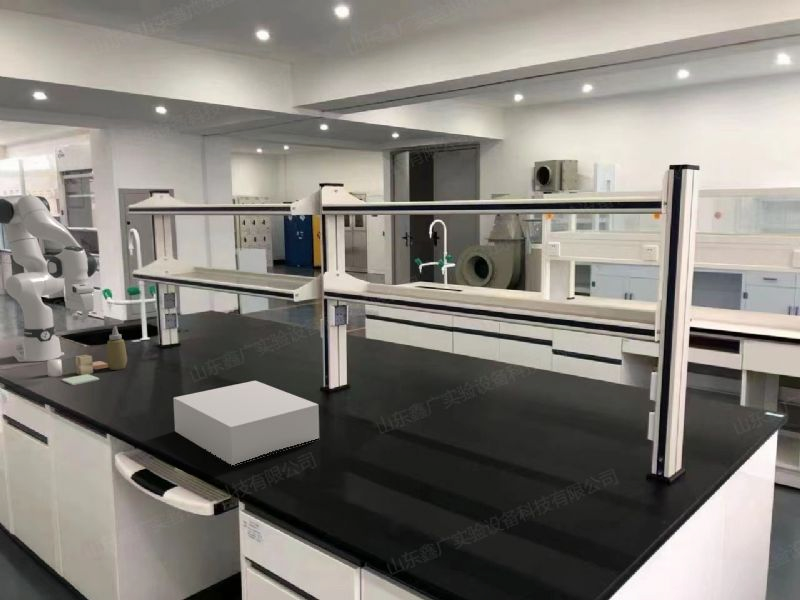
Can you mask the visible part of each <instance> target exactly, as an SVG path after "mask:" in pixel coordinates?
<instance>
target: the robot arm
mask: <svg viewBox="0 0 800 600" xmlns="http://www.w3.org/2000/svg"><path fill="white" fill-rule="evenodd" d="M0 224H2V225H3V224H5V229H6V230H5V233H6V238H7V243H8V246H9V250H10V252H11V256H12V258H13V261H14V262H15V264H18V265H20V266H22V267H23V268H24V269H25V270H26V272H20V273H16V274H13V275H11V276H9V277H7V279H6V281H5V285H4V288H5V291H6V293H7V294H8V295H9V296H10V297H11V298H13V299H14V300H15V301H16V302H17V303H18V304H19V306H20V307H21V308H20V309H21V310H22V314H23V315H22V316H23V320H24V328H23V338H22V340H21V341H20V342H19V343H18V344H17V345H16V351H19V352H17V353H14V354H13V357H14V358H15V360H16V361H17V362H19V363H24V362H26V363H27V362H44V361H48V360H52V359H59V358H60V357H62V356H65V352H63V351H62V350H61V343H60V338H59V337H58V335H57V336H56V327H55V325H54V314H53V309H52V307H50V306H49V305H46V304H45V303H44V302H43V299H42V297H43V296H49V295H55V294H56V293H59V292H61V291H62V290H64V304H65V309H69V310H70V313H71V316H72V320H73V321H79V320H80V317H79V314H78V312H81V315H82V317H81V322H82V323H84V324H85V323H88V322H89V314H90V312H93V311H94V309H95V302H94V301H95V300H94V298H95V297H94V294H93V293H94V292H95V288H94V286H93V285H92V284H91V282H90V279H89V278H91V277H92V276H93V275H94V274H95V273H96V271H97V269H98V262H97V260H96V259H97V258H95V256H93V255H92V254H91V253H90V252H89V251H88V250H87V249H86V248H85V247H84V245H82V243H81V241H79V239H78V238H77V237H76V236H75V235H74V233H73V232H72V231H71V230H70V229H69V228H68V227H67V226H66V225H63V224H62V223H60V222H59V221H58V220H57V219H56V218H55V217H54V216H53V215H52V213H51V206H50V203H49V201H48V200H47V199H46V197H44V196H41V195H39V196H38V195H32V194H27V195H26V194H25V195H21V196H16V197H8V198H0ZM38 239H40V240H45V241H51V242H53V243H54V242H55V243H58V244H61V245H62V246H64V247H63V248H62V249H61V252H60V253H58V254H56V255H52V256H51V257H50V258H49V259H48V261H47V259H46V258H45V257H44V254H43V253H42V249H41V247H40V243H39V241H38Z"/></svg>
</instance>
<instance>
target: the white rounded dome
mask: <svg viewBox="0 0 800 600" xmlns="http://www.w3.org/2000/svg"><path fill="white" fill-rule="evenodd" d="M46 365H47V375H48V377H50V378H52V377H59V376H63V364H62V359H61V358H56V359H51V360H46Z"/></svg>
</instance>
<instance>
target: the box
mask: <svg viewBox="0 0 800 600" xmlns="http://www.w3.org/2000/svg"><path fill="white" fill-rule="evenodd" d="M172 400H173V413H174V415H173V418H174V432H175V433H178V434H179V435H181V436H182V437H184V438H185V439H187V440H189V441H190V442H192V443H194V444H195V445H197V446H198V447H200V448H202V449H204V450H205V449H206V450H205V451H207V452H209V453H210V452H211V453H210V454H212V455H214V456H215V455H216V456H215V457H217V458H219V459H220V458H221V459H220V460H222V461H223V462H225V461H226V462H225V463H227V464H229V465H230V464H231V465H230V466H232V465H234V466H236V465H235V464H237V463H240V462H243V461H246V460H249V459H252V458H255V457H258V456H260V455H263V454H267V453H269V452H272V451H275V450H279V449H283V448H286V447H290V446H294V445H297V444H301V443H304V442H308V441H311V440H315V439H318V438H319V439H320V414H319V412H320V411H319V404H318V403H316V402H313V401H311V400H308V399H306V398H303V397H300V396H297V395H295V394H292V393H289V392H286V391H284V390H281V389H278V388H276V387H273V386H271V385H268V384H266V383H263V382H260V381H258V380H251V381H248V382H242V383H238V384H232V385H227V386H221V387H218V388H213V389H208V390H204V391H199V392H194V393H190V394H185V395H180V396H175V397H173V399H172ZM240 464H241V463H240ZM237 465H238V464H237Z"/></svg>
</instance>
